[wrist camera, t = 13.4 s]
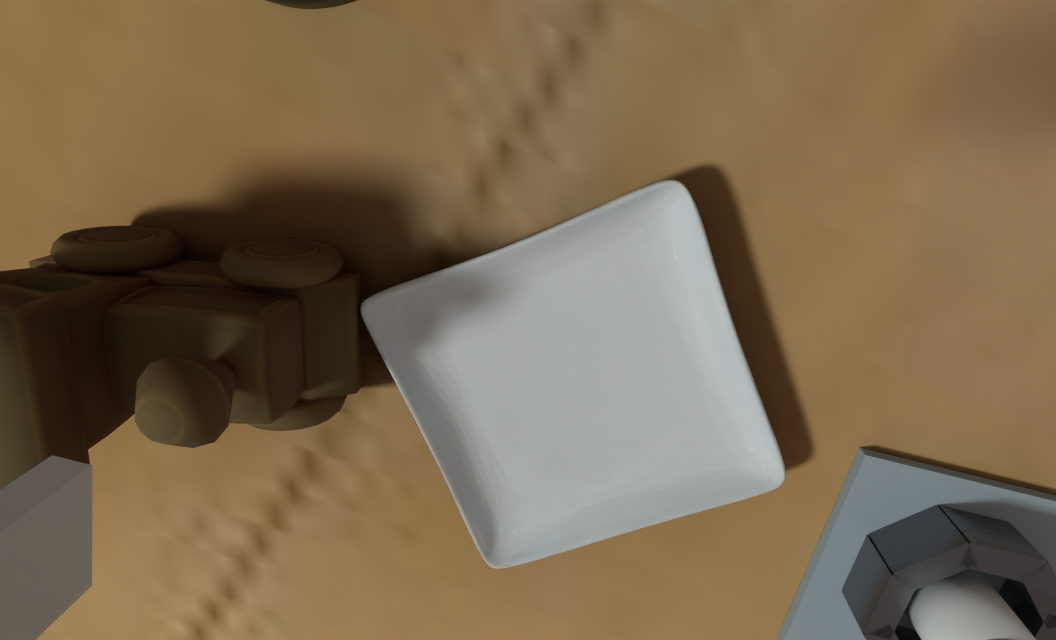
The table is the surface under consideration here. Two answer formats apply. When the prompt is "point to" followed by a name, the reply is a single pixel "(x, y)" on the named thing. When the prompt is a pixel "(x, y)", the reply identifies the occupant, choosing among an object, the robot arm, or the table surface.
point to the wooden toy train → (170, 342)
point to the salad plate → (581, 379)
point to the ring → (946, 569)
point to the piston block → (941, 607)
